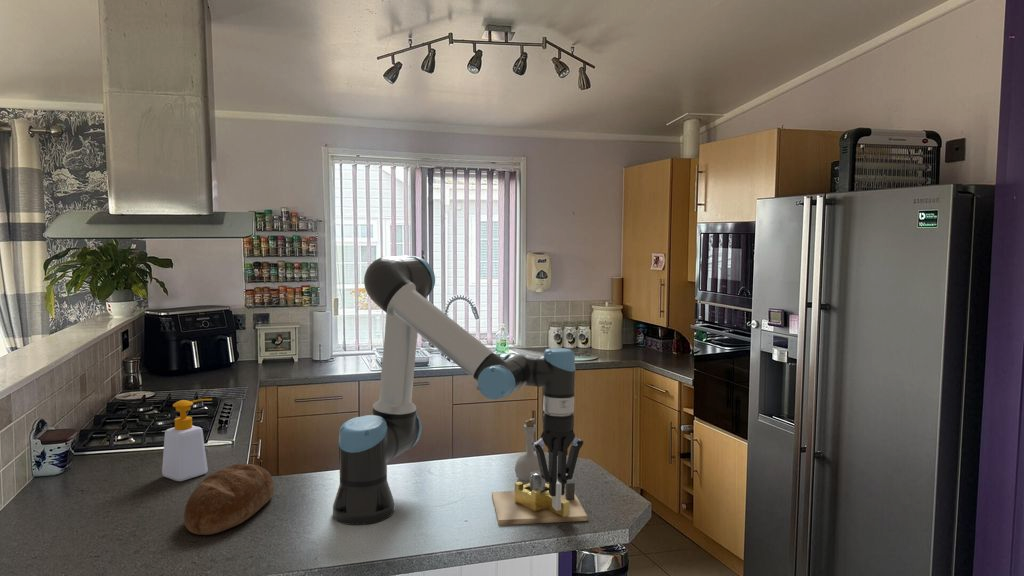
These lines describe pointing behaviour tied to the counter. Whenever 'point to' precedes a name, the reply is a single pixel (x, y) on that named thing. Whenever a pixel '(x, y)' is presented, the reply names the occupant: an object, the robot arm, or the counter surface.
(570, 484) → the block
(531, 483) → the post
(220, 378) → the counter surface
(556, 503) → the robot arm
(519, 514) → the oak board
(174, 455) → the soap bottle
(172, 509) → the counter surface
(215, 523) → the bread
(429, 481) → the counter surface
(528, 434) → the potion bottle
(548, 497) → the handled square frame
